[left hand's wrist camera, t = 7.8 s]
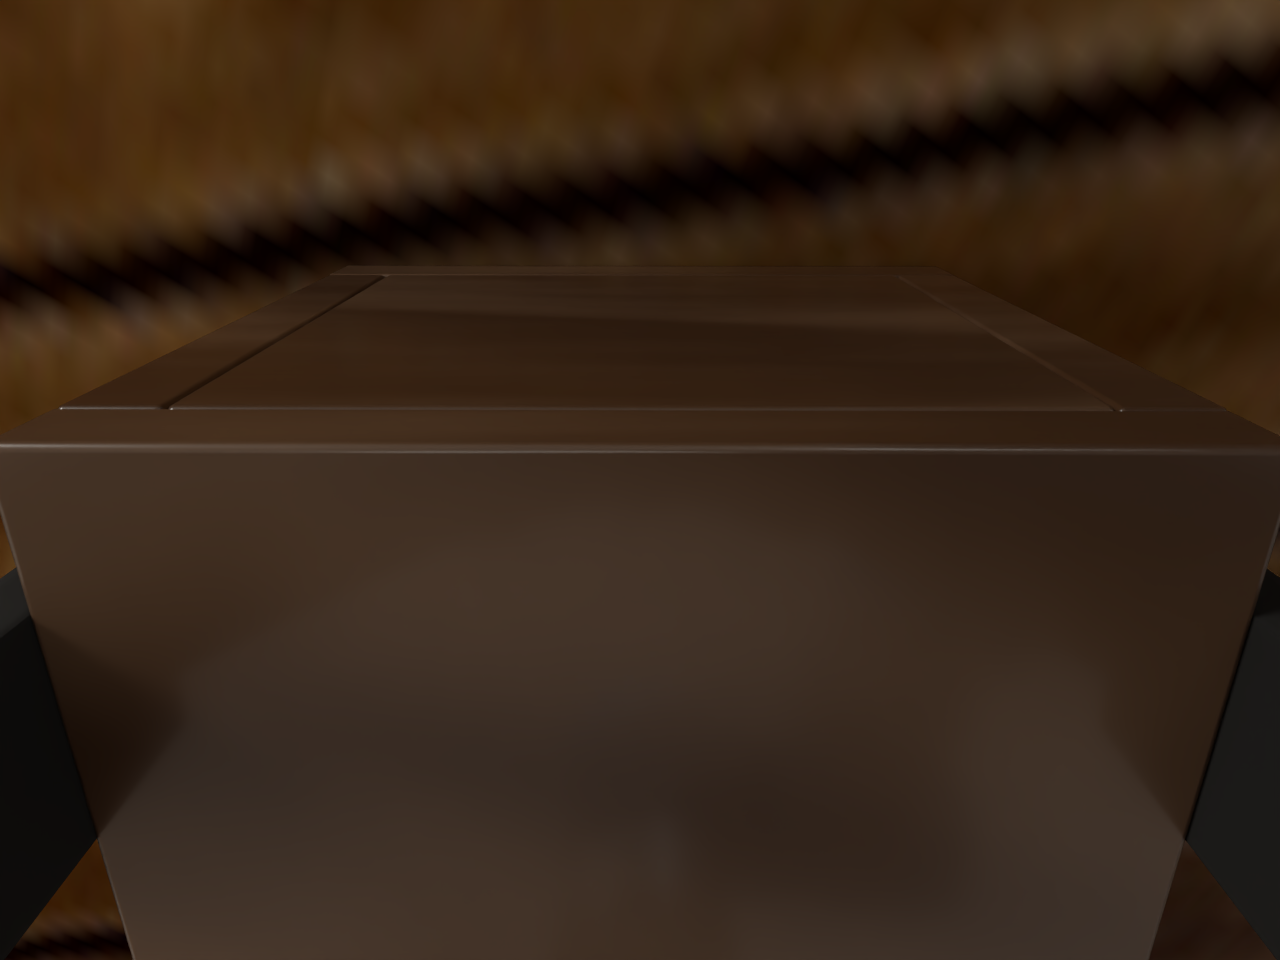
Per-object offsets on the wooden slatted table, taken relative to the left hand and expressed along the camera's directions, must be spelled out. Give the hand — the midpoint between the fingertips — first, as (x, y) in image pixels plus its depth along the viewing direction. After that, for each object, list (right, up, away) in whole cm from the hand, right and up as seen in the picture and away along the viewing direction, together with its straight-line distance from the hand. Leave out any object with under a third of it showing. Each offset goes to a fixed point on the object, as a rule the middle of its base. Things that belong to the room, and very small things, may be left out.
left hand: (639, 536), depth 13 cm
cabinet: (0, -5, +8) cm, 9 cm away
